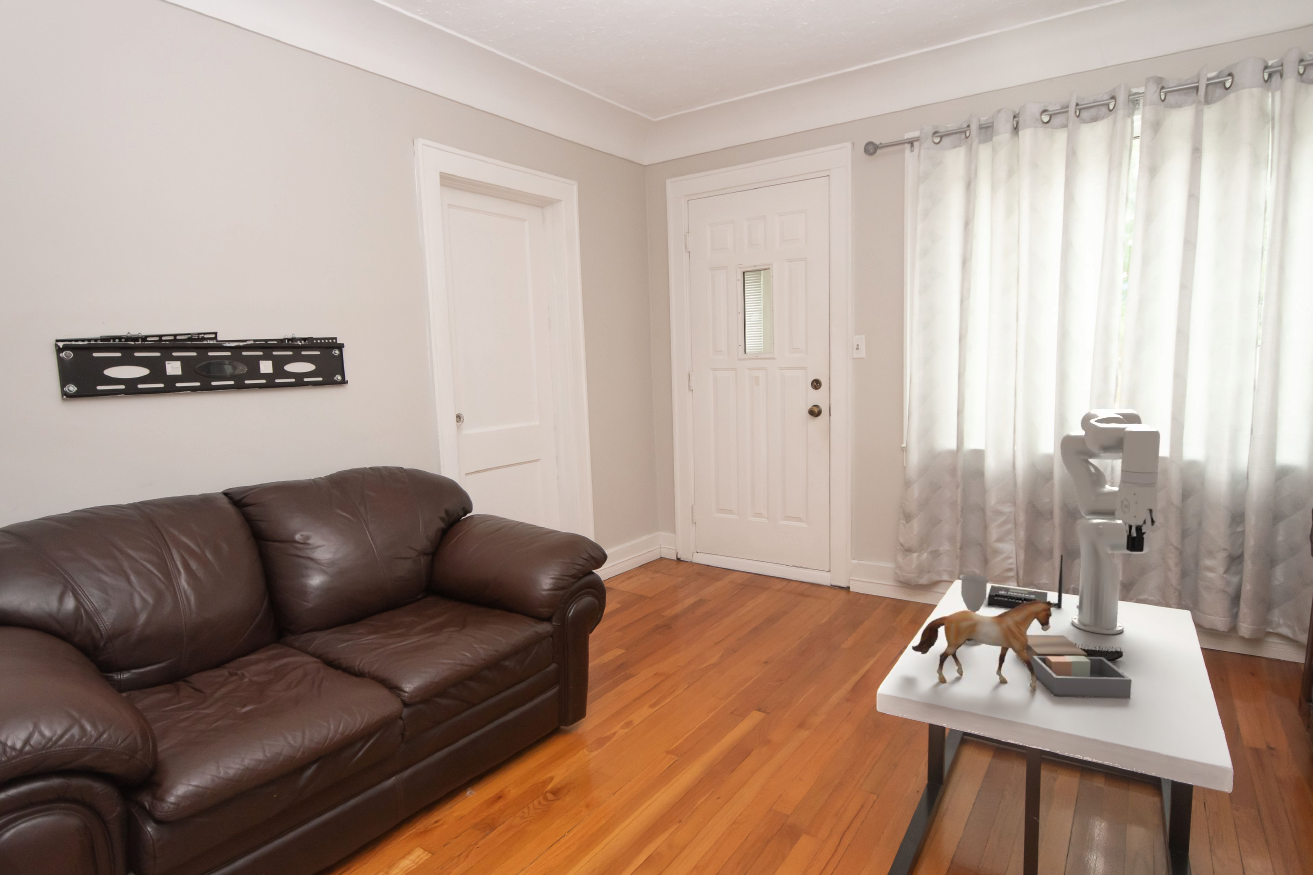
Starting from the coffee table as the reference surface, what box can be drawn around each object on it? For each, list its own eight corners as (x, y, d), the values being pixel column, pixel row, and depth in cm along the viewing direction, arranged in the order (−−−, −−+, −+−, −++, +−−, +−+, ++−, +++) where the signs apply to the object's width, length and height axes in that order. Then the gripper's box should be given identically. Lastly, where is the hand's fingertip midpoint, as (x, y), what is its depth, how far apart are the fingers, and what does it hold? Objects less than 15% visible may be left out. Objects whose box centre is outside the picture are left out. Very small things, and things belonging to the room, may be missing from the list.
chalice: (957, 644, 191) (959, 580, 189) (957, 635, 197) (959, 573, 195) (987, 648, 188) (989, 582, 186) (986, 638, 195) (988, 575, 193)
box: (1031, 673, 173) (1032, 655, 172) (1102, 674, 171) (1103, 657, 171) (1054, 696, 161) (1055, 677, 161) (1130, 698, 160) (1131, 679, 159)
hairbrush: (1018, 627, 196) (1125, 644, 180) (1018, 639, 197) (1125, 658, 181) (1010, 636, 190) (1120, 654, 174) (1011, 649, 190) (1120, 669, 174)
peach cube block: (1045, 656, 171) (1052, 661, 168) (1065, 656, 170) (1071, 661, 167) (1045, 673, 171) (1051, 679, 168) (1064, 673, 171) (1070, 679, 168)
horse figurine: (1049, 682, 168) (1052, 599, 166) (1057, 697, 161) (1061, 610, 158) (911, 667, 177) (913, 588, 175) (912, 681, 170) (914, 598, 168)
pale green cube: (1064, 655, 171) (1070, 660, 168) (1083, 655, 170) (1090, 661, 168) (1063, 673, 171) (1070, 678, 168) (1082, 673, 171) (1089, 679, 168)
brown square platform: (1017, 652, 185) (1017, 634, 184) (1062, 653, 184) (1063, 635, 183) (1037, 672, 173) (1038, 653, 173) (1086, 673, 172) (1087, 654, 172)
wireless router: (987, 608, 220) (989, 554, 218) (991, 594, 232) (993, 544, 230) (1061, 618, 209) (1063, 562, 208) (1061, 604, 221) (1064, 551, 220)
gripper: (1106, 473, 180) (1102, 543, 182) (1140, 483, 166) (1136, 559, 168) (1137, 473, 180) (1133, 543, 182) (1174, 483, 165) (1169, 559, 167)
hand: (1134, 550), depth 175 cm, fingers closed
